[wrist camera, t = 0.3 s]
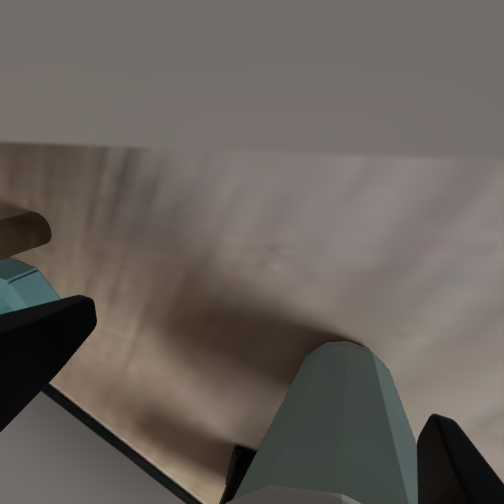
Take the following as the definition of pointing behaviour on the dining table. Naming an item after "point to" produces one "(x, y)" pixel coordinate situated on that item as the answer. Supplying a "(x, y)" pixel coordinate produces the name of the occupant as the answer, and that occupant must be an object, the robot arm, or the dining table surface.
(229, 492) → the robot arm
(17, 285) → the bead
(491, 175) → the dining table surface
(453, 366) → the dining table surface
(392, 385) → the disposable coffee cup
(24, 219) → the brown post
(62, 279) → the dining table surface
